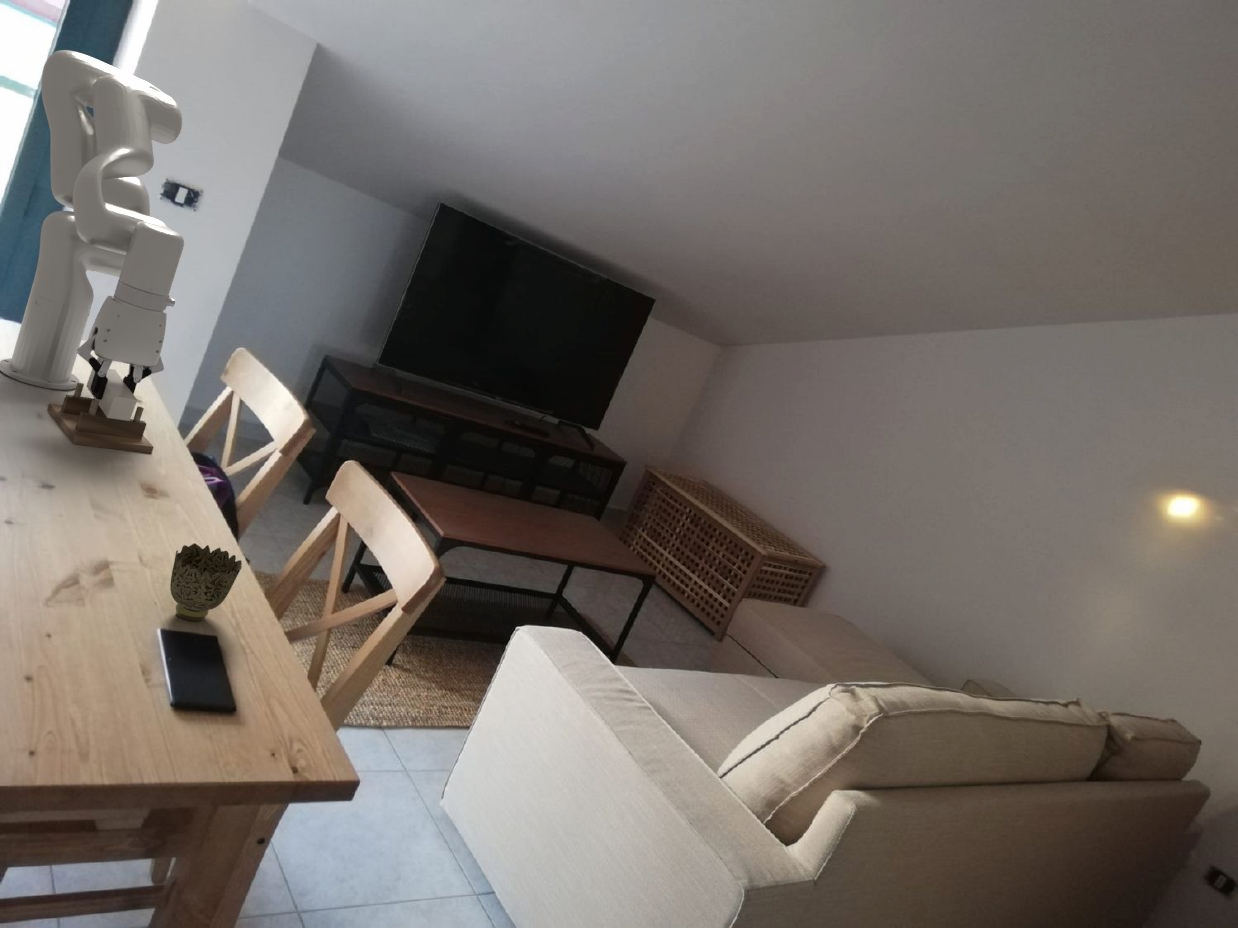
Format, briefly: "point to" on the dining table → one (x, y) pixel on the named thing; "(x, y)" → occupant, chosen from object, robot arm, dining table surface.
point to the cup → (201, 580)
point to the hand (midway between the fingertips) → (110, 397)
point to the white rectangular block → (115, 397)
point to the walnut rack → (99, 424)
